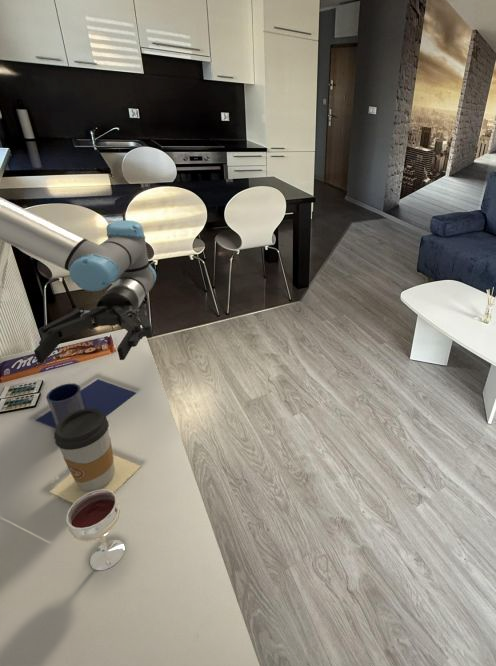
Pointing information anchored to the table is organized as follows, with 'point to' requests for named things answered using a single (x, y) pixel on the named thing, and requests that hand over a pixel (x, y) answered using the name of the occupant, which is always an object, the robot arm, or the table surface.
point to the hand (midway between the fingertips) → (80, 355)
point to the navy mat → (97, 399)
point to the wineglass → (97, 525)
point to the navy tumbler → (65, 401)
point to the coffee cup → (86, 448)
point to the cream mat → (73, 492)
